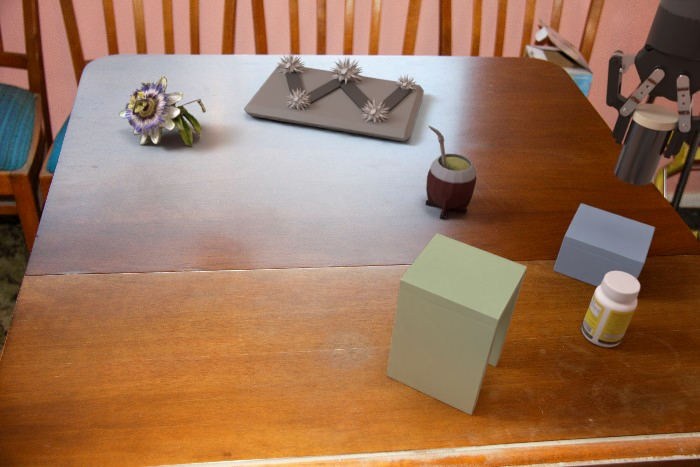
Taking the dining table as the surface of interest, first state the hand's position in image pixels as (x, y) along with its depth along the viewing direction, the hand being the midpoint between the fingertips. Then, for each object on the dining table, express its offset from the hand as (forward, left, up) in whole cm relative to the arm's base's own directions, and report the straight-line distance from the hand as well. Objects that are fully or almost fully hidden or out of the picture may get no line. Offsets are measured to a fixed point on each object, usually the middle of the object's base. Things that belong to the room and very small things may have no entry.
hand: (643, 147), depth 78 cm
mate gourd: (+23, -1, -19) cm, 30 cm away
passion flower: (+71, +6, -19) cm, 74 cm away
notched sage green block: (+11, +28, -19) cm, 36 cm away
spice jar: (0, 0, -4) cm, 4 cm away
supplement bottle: (-3, +13, -19) cm, 23 cm away
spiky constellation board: (+53, -21, -19) cm, 60 cm away
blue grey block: (0, 0, -19) cm, 19 cm away
